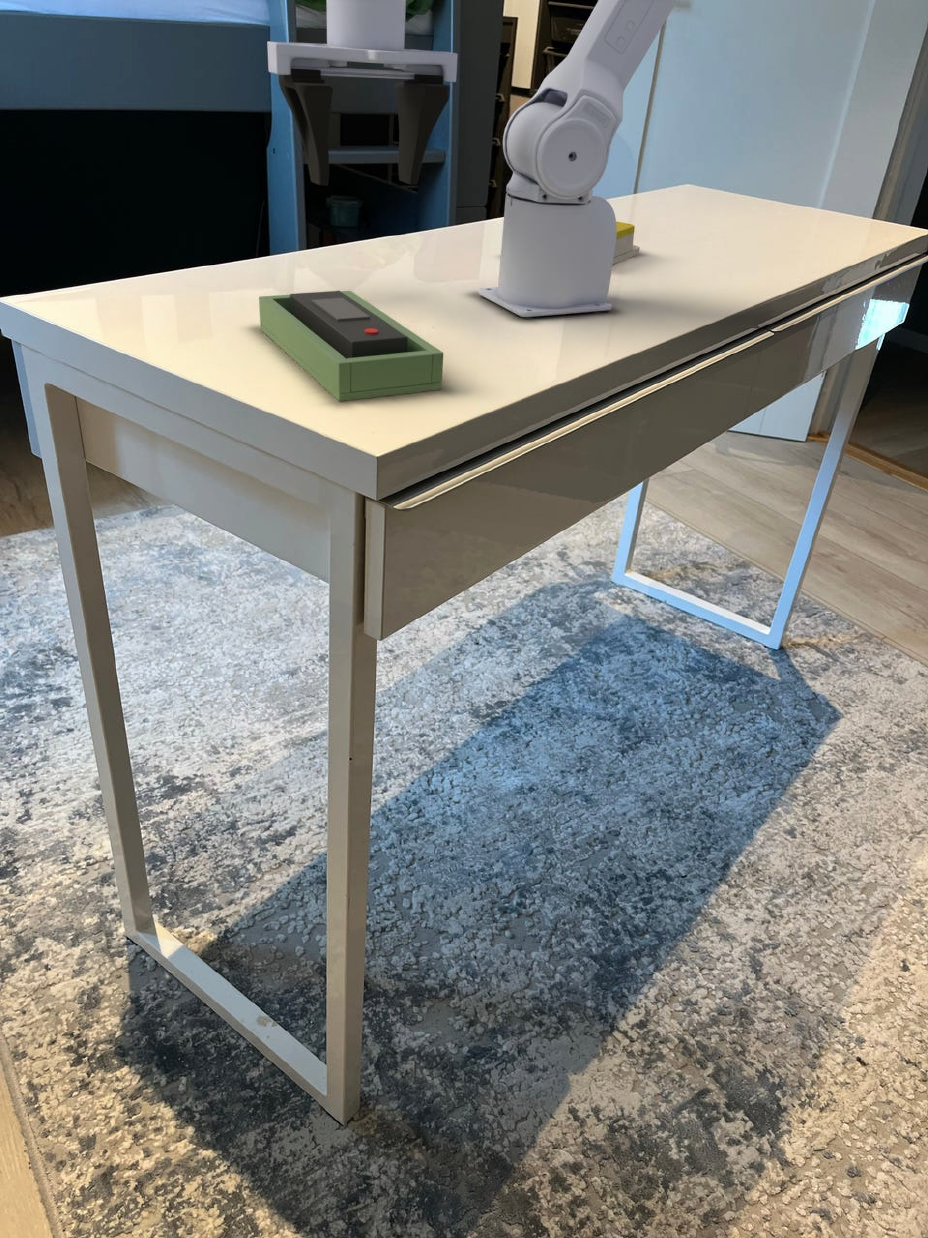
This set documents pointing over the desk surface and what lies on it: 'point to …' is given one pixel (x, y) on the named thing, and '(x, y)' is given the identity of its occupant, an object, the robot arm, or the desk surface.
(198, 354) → the desk surface
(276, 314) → the tray
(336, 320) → the remote
